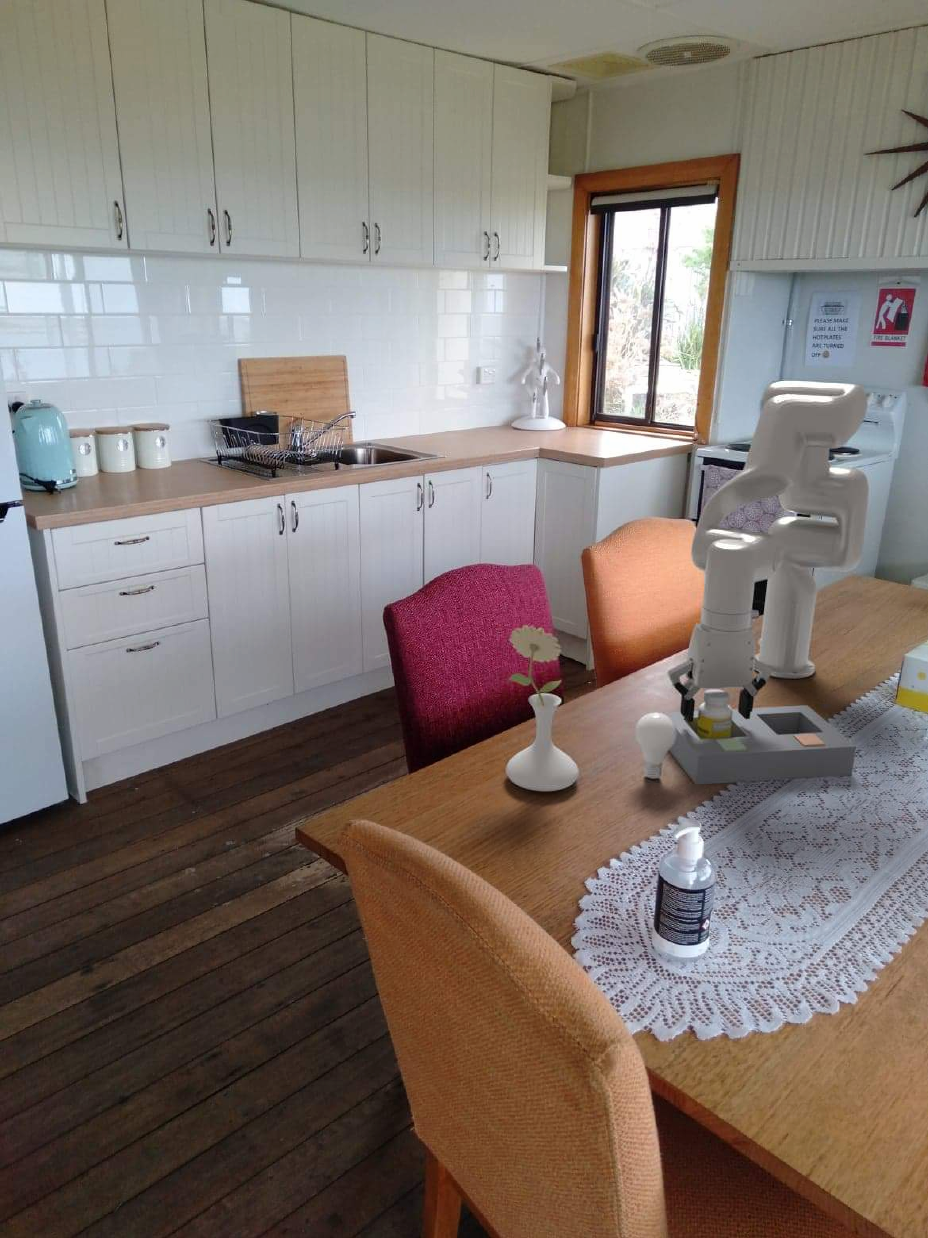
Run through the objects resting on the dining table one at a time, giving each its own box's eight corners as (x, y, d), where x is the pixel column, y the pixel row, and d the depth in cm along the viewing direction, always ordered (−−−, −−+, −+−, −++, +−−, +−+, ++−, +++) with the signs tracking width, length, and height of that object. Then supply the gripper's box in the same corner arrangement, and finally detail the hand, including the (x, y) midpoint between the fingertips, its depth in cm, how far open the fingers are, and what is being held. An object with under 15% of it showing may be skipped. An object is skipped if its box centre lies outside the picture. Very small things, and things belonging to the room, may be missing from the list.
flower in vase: (593, 780, 145) (601, 630, 137) (546, 807, 138) (552, 649, 130) (530, 753, 154) (534, 610, 146) (482, 776, 146) (485, 627, 138)
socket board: (661, 739, 159) (663, 711, 158) (803, 731, 163) (807, 703, 161) (695, 784, 144) (698, 754, 143) (851, 774, 148) (856, 744, 146)
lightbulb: (675, 772, 148) (680, 709, 145) (669, 790, 142) (675, 725, 139) (635, 765, 150) (639, 703, 147) (628, 783, 144) (633, 719, 141)
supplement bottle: (690, 741, 156) (695, 687, 153) (721, 740, 157) (727, 686, 154) (702, 756, 151) (707, 700, 148) (734, 754, 152) (739, 699, 149)
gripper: (767, 609, 151) (755, 705, 157) (665, 613, 149) (657, 710, 154) (788, 624, 144) (775, 724, 149) (681, 628, 142) (672, 730, 147)
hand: (715, 717), depth 152 cm, fingers open, 9 cm apart
